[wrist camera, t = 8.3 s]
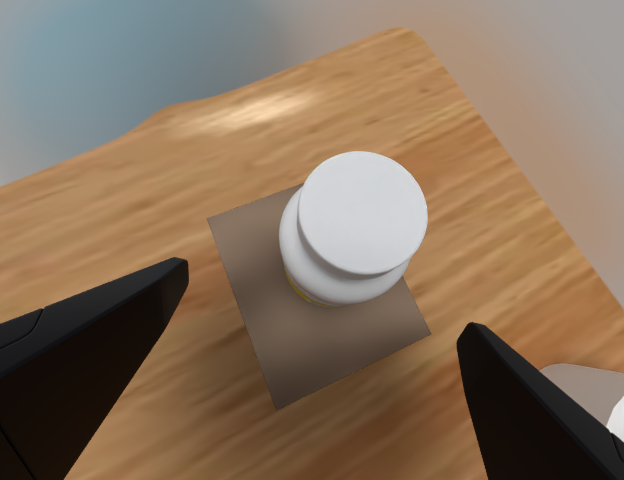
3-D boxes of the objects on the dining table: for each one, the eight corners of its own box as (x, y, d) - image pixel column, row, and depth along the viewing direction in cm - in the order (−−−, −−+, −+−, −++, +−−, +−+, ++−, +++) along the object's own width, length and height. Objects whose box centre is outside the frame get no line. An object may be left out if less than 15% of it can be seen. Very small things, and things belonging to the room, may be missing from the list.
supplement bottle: (334, 207, 19) (375, 102, 10) (387, 273, 18) (488, 227, 9) (267, 254, 18) (237, 187, 8) (318, 326, 17) (349, 341, 8)
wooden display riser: (403, 330, 22) (431, 334, 17) (280, 389, 20) (276, 410, 16) (337, 193, 24) (347, 166, 20) (223, 237, 23) (206, 218, 18)
